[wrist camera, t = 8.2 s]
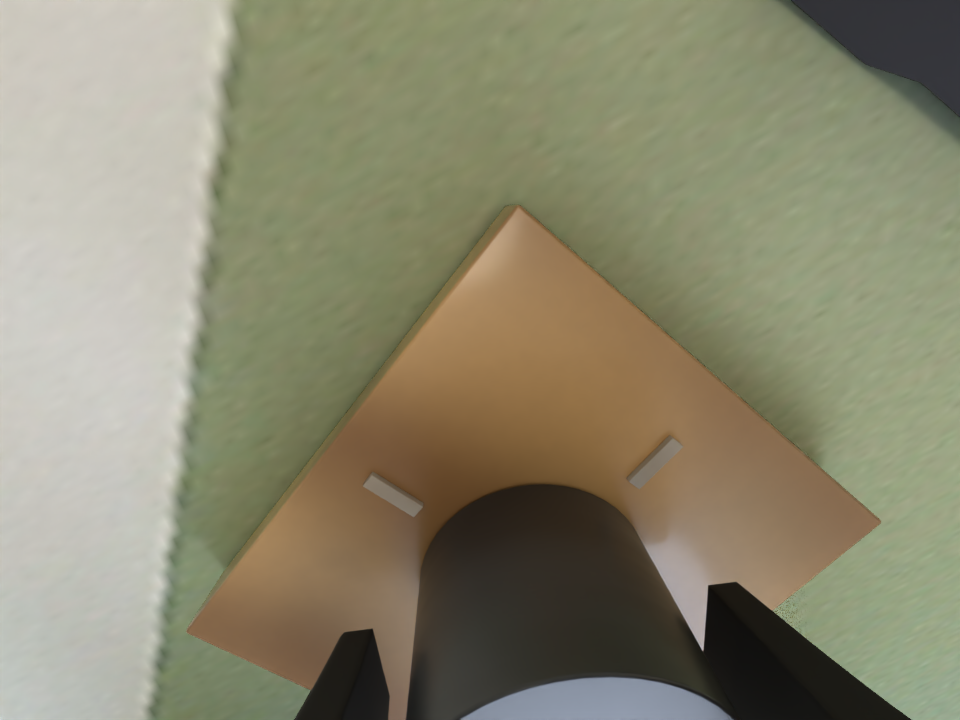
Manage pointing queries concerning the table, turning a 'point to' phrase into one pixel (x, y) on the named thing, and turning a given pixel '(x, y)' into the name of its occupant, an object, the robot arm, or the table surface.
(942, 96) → the calculator
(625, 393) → the rotary dial plate
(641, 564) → the dial knob
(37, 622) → the table surface
